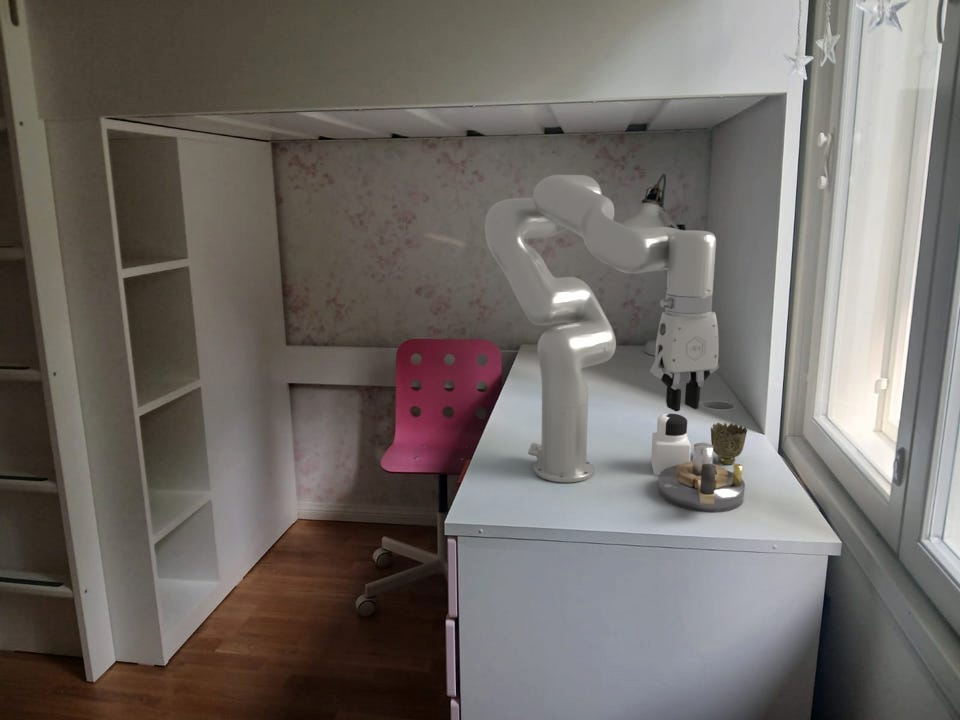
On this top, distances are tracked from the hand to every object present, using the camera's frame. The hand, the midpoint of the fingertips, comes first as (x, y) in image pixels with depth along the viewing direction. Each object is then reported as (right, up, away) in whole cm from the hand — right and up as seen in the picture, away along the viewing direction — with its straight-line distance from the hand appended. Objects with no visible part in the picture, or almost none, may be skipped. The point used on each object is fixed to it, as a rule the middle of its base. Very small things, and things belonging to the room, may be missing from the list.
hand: (682, 407), depth 127 cm
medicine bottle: (+5, -15, +27) cm, 31 cm away
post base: (+8, -18, +15) cm, 25 cm away
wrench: (+7, -16, +11) cm, 20 cm away
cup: (+18, -14, +31) cm, 38 cm away
